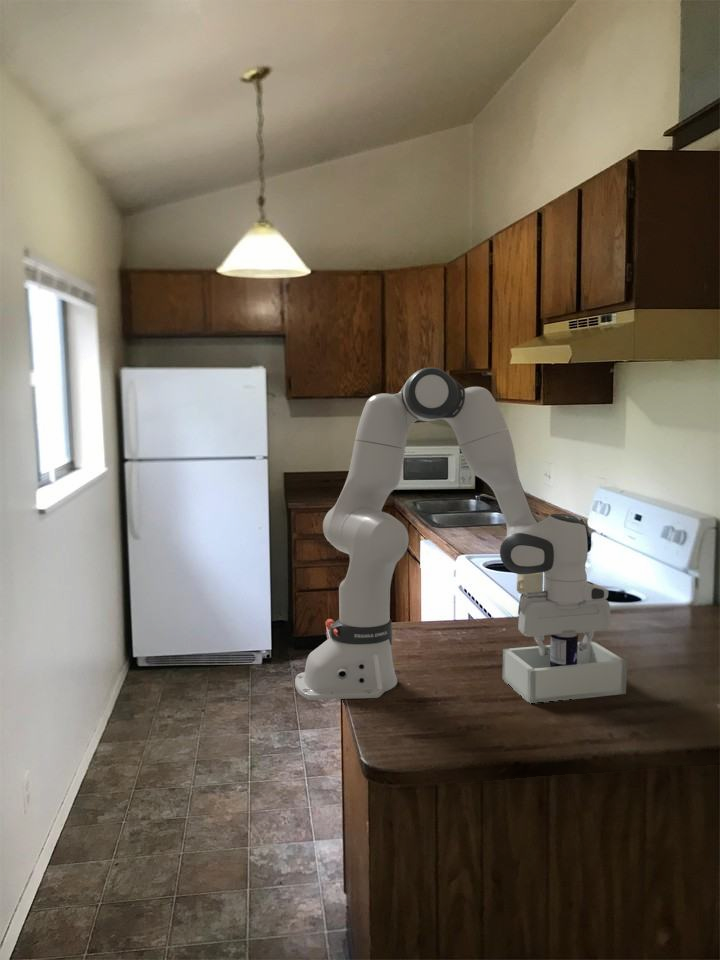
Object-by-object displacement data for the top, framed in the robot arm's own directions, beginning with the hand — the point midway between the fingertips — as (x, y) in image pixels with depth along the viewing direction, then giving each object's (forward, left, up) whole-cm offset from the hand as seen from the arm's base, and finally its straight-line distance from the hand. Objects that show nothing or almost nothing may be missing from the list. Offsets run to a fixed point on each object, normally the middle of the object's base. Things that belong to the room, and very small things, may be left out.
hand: (563, 652), depth 172 cm
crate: (0, 0, -8) cm, 8 cm away
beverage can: (0, 0, -7) cm, 7 cm away
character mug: (+16, +50, -8) cm, 53 cm away
